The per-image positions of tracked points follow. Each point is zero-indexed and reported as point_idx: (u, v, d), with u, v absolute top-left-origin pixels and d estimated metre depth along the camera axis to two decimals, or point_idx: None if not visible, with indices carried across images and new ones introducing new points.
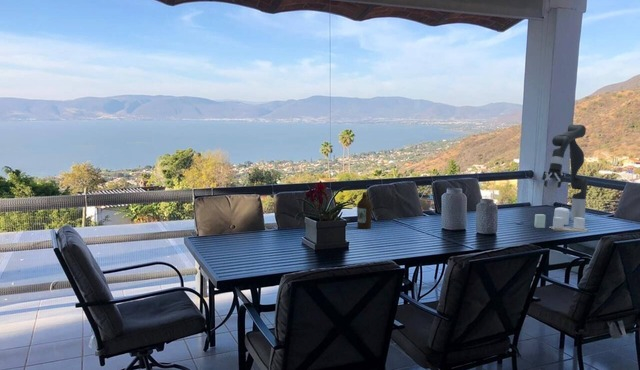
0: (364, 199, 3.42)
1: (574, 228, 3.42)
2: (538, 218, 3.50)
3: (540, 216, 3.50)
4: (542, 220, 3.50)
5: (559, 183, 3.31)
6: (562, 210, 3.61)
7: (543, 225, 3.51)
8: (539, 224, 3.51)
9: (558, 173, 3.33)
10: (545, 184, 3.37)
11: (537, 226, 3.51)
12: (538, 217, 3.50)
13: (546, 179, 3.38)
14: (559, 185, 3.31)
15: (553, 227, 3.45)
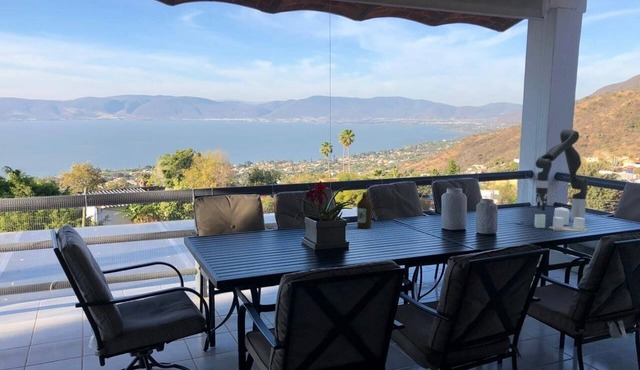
0: (364, 199, 3.42)
1: (574, 228, 3.42)
2: (538, 218, 3.50)
3: (540, 216, 3.50)
4: (542, 220, 3.50)
5: (542, 206, 3.46)
6: (562, 210, 3.61)
7: (543, 225, 3.51)
8: (539, 224, 3.51)
9: (541, 196, 3.47)
10: (537, 206, 3.55)
11: (537, 226, 3.51)
12: (538, 217, 3.50)
13: (537, 202, 3.55)
14: (542, 208, 3.46)
15: (553, 227, 3.45)
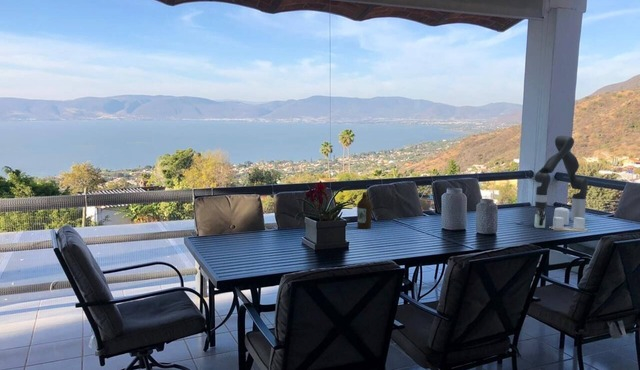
0: (364, 199, 3.42)
1: (574, 228, 3.42)
2: (538, 218, 3.50)
3: None
4: None
5: (540, 221, 3.50)
6: (562, 210, 3.61)
7: (543, 225, 3.51)
8: None
9: (540, 212, 3.49)
10: None
11: (537, 226, 3.51)
12: (538, 217, 3.50)
13: None
14: (540, 223, 3.50)
15: (553, 227, 3.45)
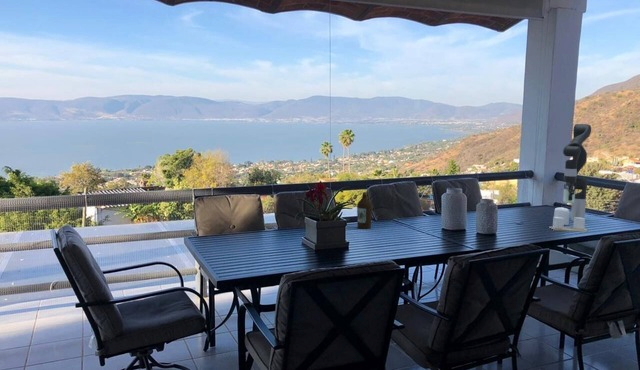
0: (364, 199, 3.42)
1: (574, 228, 3.42)
2: (567, 193, 3.40)
3: None
4: None
5: (569, 196, 3.40)
6: (562, 210, 3.61)
7: (572, 200, 3.41)
8: None
9: (569, 186, 3.39)
10: None
11: (566, 201, 3.41)
12: (567, 192, 3.40)
13: None
14: (569, 198, 3.40)
15: (553, 227, 3.45)
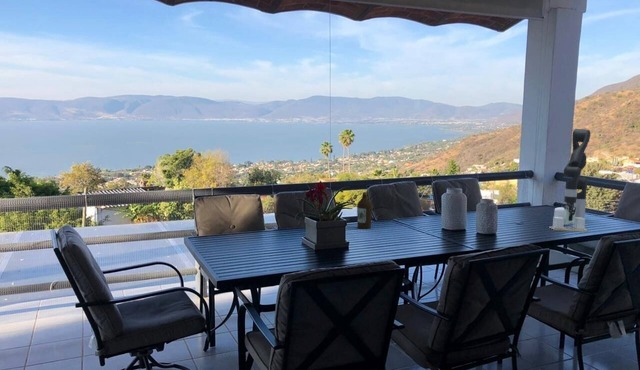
0: (364, 199, 3.42)
1: (574, 228, 3.42)
2: (567, 213, 3.41)
3: None
4: None
5: (569, 216, 3.41)
6: (562, 210, 3.61)
7: (573, 220, 3.42)
8: None
9: (570, 206, 3.40)
10: None
11: (566, 221, 3.42)
12: (568, 212, 3.41)
13: None
14: (569, 218, 3.41)
15: (553, 227, 3.45)
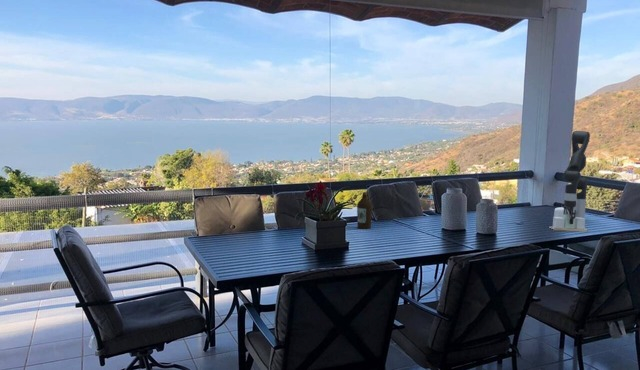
0: (364, 199, 3.42)
1: (574, 228, 3.42)
2: (567, 218, 3.42)
3: None
4: None
5: (570, 220, 3.39)
6: (562, 210, 3.61)
7: (572, 225, 3.42)
8: (568, 224, 3.42)
9: (569, 210, 3.40)
10: None
11: (566, 227, 3.43)
12: (567, 217, 3.42)
13: None
14: (570, 222, 3.39)
15: (553, 227, 3.45)
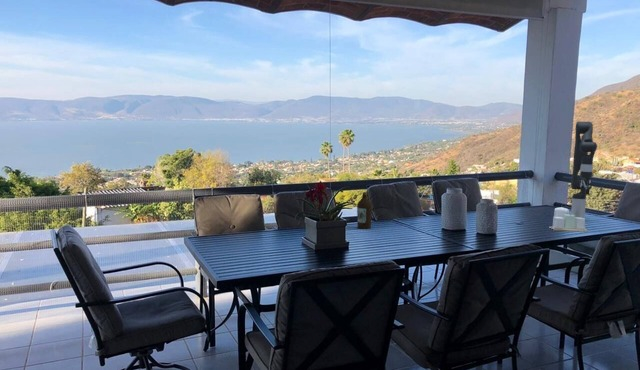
0: (364, 199, 3.42)
1: (574, 228, 3.42)
2: (567, 218, 3.42)
3: (570, 217, 3.42)
4: (571, 220, 3.42)
5: (586, 190, 3.41)
6: (562, 210, 3.61)
7: (572, 225, 3.42)
8: (568, 224, 3.42)
9: (585, 180, 3.42)
10: (580, 191, 3.50)
11: (566, 227, 3.43)
12: (567, 217, 3.42)
13: (580, 186, 3.49)
14: (586, 193, 3.41)
15: (553, 227, 3.45)
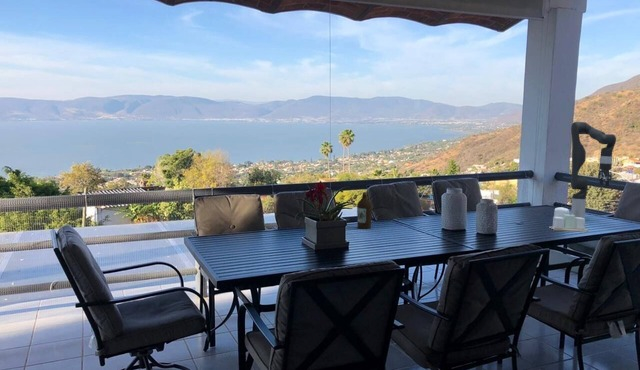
0: (364, 199, 3.42)
1: (574, 228, 3.42)
2: (567, 218, 3.42)
3: (570, 217, 3.42)
4: (571, 220, 3.42)
5: (606, 182, 3.45)
6: (562, 210, 3.61)
7: (572, 225, 3.42)
8: (568, 224, 3.42)
9: (605, 172, 3.46)
10: (599, 183, 3.54)
11: (566, 227, 3.43)
12: (567, 217, 3.42)
13: (599, 178, 3.54)
14: (606, 184, 3.45)
15: (553, 227, 3.45)
